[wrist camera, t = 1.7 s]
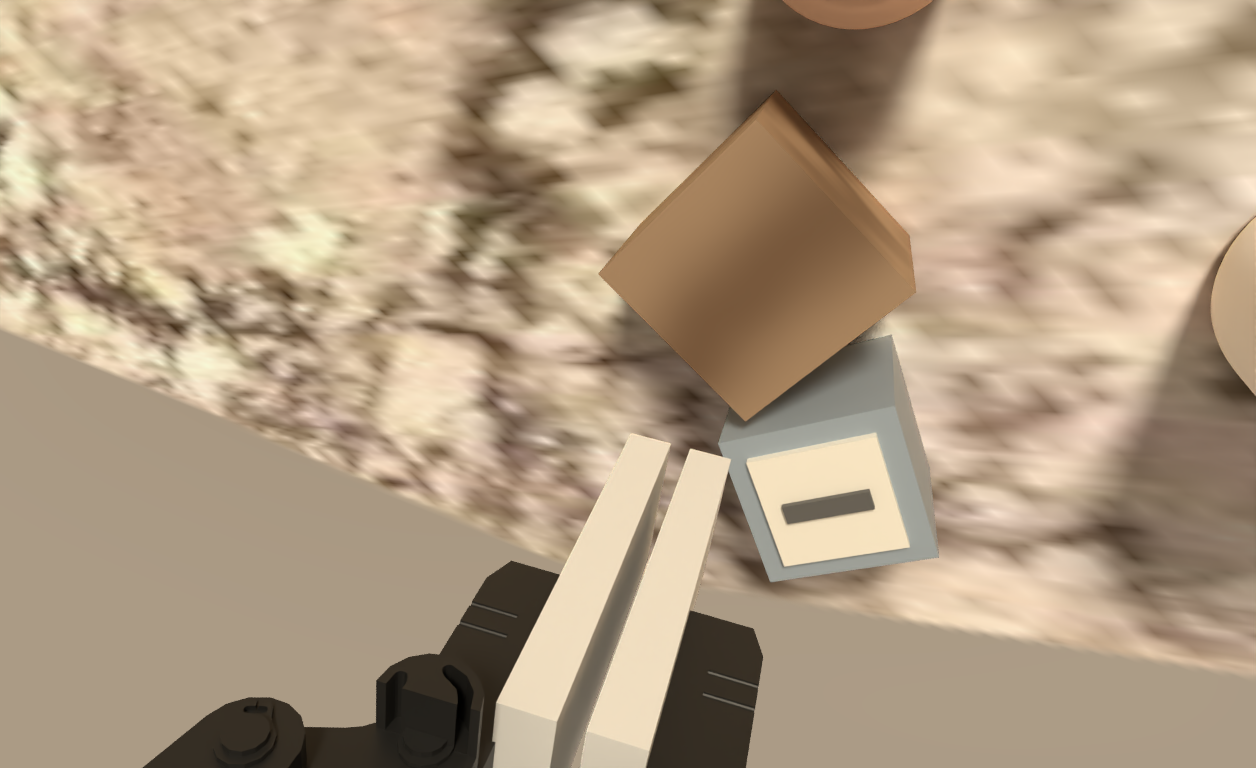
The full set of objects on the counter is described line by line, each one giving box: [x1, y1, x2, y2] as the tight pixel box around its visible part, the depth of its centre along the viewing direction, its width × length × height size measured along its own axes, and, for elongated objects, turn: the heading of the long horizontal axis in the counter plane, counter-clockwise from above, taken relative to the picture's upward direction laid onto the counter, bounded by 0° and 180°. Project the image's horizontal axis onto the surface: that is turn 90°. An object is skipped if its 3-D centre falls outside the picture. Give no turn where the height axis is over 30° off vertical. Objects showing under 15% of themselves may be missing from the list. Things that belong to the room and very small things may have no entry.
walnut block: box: [599, 90, 916, 422], centre depth 30 cm, size 7×7×6 cm
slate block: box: [718, 335, 939, 582], centre depth 32 cm, size 6×6×6 cm
